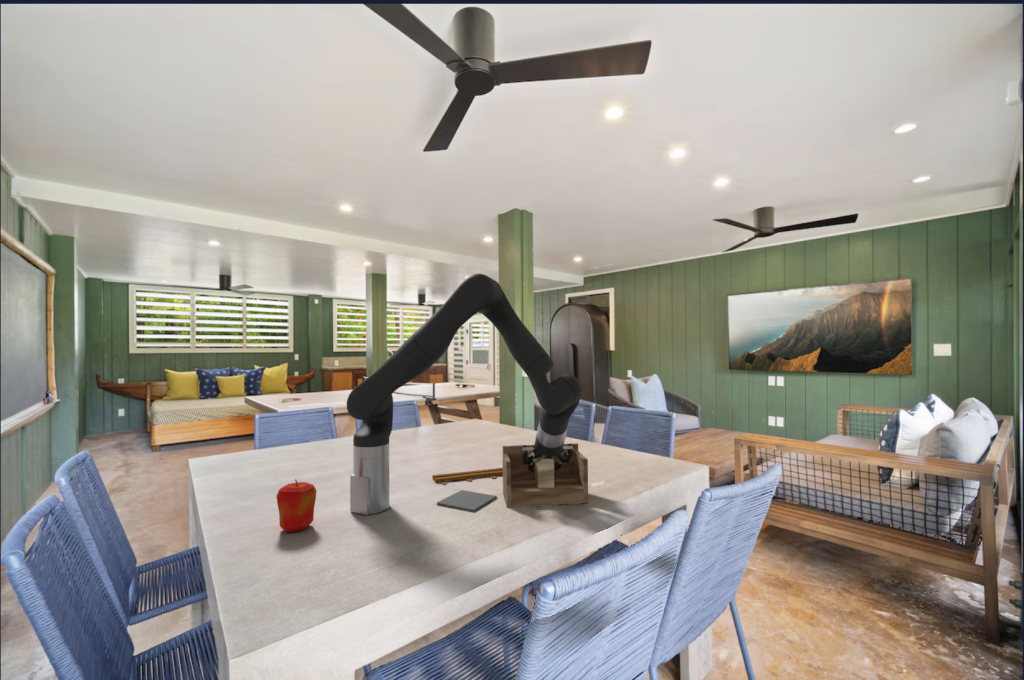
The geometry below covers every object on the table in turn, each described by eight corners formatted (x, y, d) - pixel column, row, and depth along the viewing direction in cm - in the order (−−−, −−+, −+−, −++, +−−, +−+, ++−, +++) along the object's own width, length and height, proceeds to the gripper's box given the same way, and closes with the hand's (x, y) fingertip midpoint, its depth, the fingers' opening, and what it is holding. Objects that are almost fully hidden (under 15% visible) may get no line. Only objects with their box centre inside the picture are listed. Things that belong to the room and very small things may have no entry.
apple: (290, 539, 99) (290, 486, 99) (268, 531, 103) (268, 481, 103) (323, 525, 106) (323, 476, 107) (301, 519, 110) (301, 472, 111)
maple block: (554, 487, 122) (553, 451, 122) (538, 488, 121) (537, 451, 121) (550, 482, 126) (550, 447, 126) (535, 483, 126) (535, 448, 126)
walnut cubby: (588, 503, 120) (587, 452, 120) (506, 507, 118) (506, 454, 118) (577, 490, 131) (577, 443, 132) (502, 493, 129) (502, 445, 129)
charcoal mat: (473, 512, 115) (473, 509, 115) (436, 504, 120) (436, 502, 120) (496, 498, 125) (496, 495, 125) (461, 492, 131) (461, 490, 131)
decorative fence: (431, 478, 147) (436, 487, 137) (431, 473, 147) (436, 481, 137) (502, 471, 155) (512, 479, 146) (502, 465, 155) (512, 473, 146)
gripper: (575, 422, 117) (565, 455, 129) (522, 423, 116) (517, 457, 127) (581, 446, 112) (570, 479, 123) (525, 448, 110) (519, 481, 122)
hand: (543, 468), depth 125 cm, fingers open, 6 cm apart
